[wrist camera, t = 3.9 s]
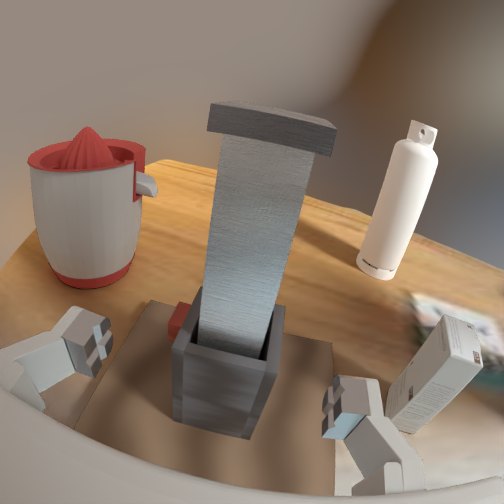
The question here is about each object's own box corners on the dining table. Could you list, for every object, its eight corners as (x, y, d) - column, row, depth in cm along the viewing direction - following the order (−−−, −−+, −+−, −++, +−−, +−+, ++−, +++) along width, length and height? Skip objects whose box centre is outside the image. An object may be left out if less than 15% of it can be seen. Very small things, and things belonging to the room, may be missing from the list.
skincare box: (387, 387, 31) (440, 309, 25) (418, 396, 30) (475, 322, 24) (381, 428, 26) (447, 352, 20) (416, 437, 25) (486, 365, 19)
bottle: (360, 275, 52) (413, 119, 38) (352, 252, 59) (395, 114, 45) (399, 283, 52) (454, 137, 38) (387, 260, 59) (433, 129, 45)
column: (252, 383, 27) (326, 119, 16) (243, 429, 23) (337, 129, 11) (199, 370, 28) (235, 100, 16) (183, 414, 23) (210, 103, 12)
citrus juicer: (148, 308, 36) (152, 142, 26) (27, 294, 33) (2, 142, 23) (160, 243, 49) (169, 120, 39) (64, 236, 46) (59, 118, 36)
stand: (327, 351, 35) (363, 273, 30) (325, 531, 16) (404, 496, 11) (151, 309, 36) (151, 224, 30) (64, 463, 17) (6, 392, 11)
